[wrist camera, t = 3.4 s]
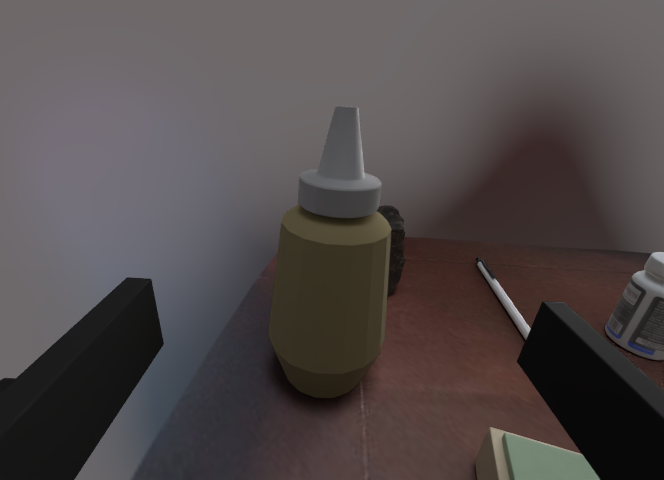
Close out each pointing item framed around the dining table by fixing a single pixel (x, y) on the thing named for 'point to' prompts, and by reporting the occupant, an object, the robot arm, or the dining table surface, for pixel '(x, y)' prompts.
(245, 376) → the dining table surface
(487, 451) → the cushion seat
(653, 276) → the pill bottle
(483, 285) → the dining table surface
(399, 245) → the rock
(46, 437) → the robot arm
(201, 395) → the dining table surface
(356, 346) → the squeeze bottle
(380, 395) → the dining table surface
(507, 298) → the pen
